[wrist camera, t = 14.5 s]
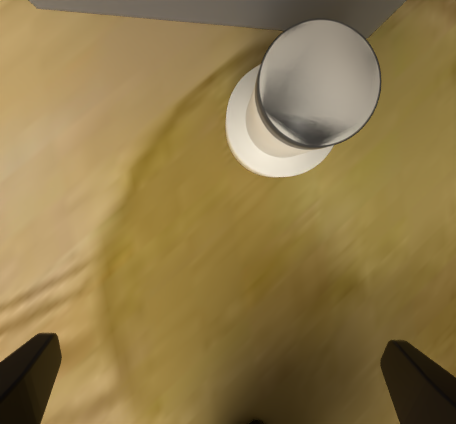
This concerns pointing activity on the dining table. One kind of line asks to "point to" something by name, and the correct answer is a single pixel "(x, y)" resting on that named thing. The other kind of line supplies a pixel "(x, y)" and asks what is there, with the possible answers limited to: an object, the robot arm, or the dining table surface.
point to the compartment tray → (240, 11)
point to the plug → (303, 98)
